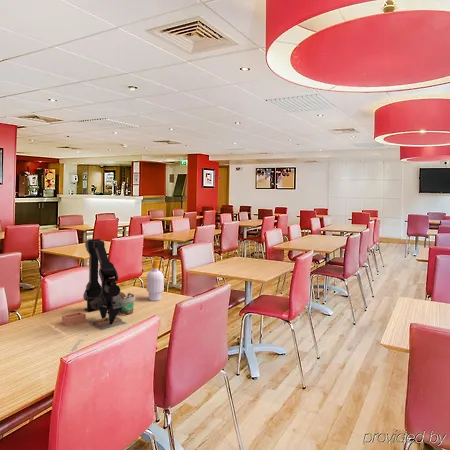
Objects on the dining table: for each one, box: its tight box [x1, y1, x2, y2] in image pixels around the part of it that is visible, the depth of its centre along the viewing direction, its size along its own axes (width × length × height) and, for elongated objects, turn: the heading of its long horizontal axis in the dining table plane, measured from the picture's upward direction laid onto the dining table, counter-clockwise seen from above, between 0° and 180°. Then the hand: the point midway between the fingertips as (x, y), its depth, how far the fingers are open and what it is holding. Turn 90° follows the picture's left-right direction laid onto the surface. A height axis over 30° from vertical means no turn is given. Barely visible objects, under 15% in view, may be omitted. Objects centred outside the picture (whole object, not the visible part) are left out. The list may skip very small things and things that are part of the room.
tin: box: [113, 291, 127, 305], centre depth 227 cm, size 15×3×8 cm, turn 58°
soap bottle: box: [146, 259, 165, 302], centre depth 240 cm, size 10×10×24 cm
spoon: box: [69, 333, 89, 354], centre depth 170 cm, size 4×21×2 cm, turn 179°
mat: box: [87, 320, 128, 331], centre depth 197 cm, size 14×14×1 cm
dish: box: [61, 311, 87, 327], centre depth 196 cm, size 6×10×4 cm, turn 136°
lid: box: [92, 316, 123, 327], centre depth 197 cm, size 7×12×2 cm, turn 136°
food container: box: [118, 292, 136, 316], centre depth 212 cm, size 12×6×10 cm, turn 168°
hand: (107, 322), depth 197 cm, fingers closed on lid, 7 cm apart
